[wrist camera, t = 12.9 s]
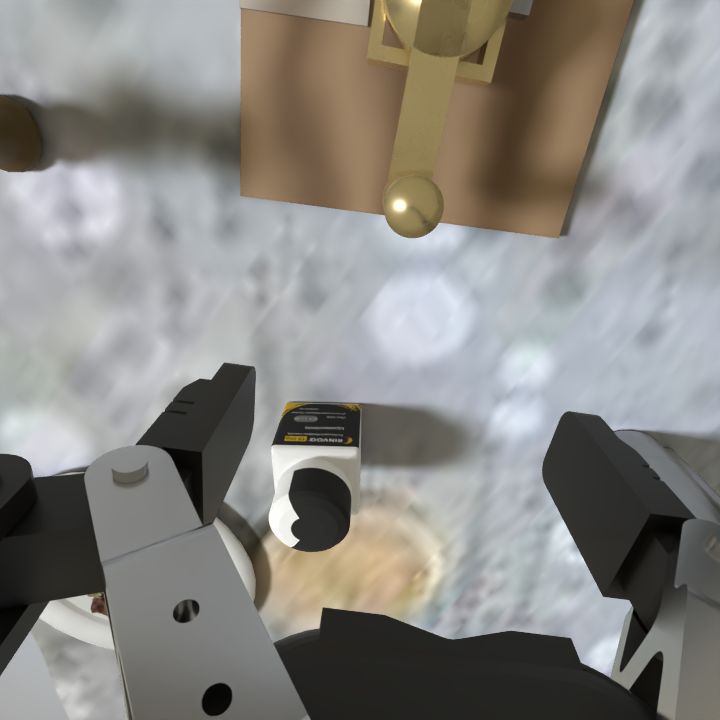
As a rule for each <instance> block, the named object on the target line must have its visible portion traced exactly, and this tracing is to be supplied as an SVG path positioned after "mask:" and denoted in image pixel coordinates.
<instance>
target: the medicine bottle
mask: <svg viewBox="0 0 720 720" xmlns="http://www.w3.org/2000/svg"><path fill="white" fill-rule="evenodd" d="M361 412H362V408H361V405H359V404H334V403H291V402H289V403H287V404H286V406H285V409H284V412H283V415H282V418H281V420H280V423H279V426H278V429H277V432H276V435H275V438H274V441H273V444H272V446H271V454H272V464H273V474H274V484H275V496H274V499H273V503H272V506H271V510H270V513H269V523H270V527H271V529H272V531H273V532H274V534H275V535H276V536H277V538H278V539H279V540H280V541H282V542H283V543H284V544H286V545H287V546H289V547H291V548H294V549H296V550H300V551H306V552H318V551H323V550H327V549H330V548H332V547H334V546H335V545H337V544H338V543H340V542H341V541H342V540H343V539H344V538H345V536H346V535H347V533H348V531H349V527H350V515H356V514H358V511H359V495H360V470H361Z"/></svg>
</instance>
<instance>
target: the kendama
mask: <svg viewBox="0 0 720 720" xmlns="http://www.w3.org/2000/svg"><path fill="white" fill-rule="evenodd" d="M40 156H41V138H40V134H39V131H38V128H37V124H36V123H35V121H34V120H33V118H32V117H31V115H30V114H29V112H28V110H27V109H25V108H24V107H23V106H21V105H20V104H19V103H17V102H16V101H15V100H14V99H11V98H8V97H5V96H2V95H0V169H2V170H5V171H8V172H25V171H27V170H29V169H31V168H33V167H35V166H36V165H37V163H38V161H39V159H40Z"/></svg>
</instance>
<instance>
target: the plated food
mask: <svg viewBox="0 0 720 720" xmlns="http://www.w3.org/2000/svg"><path fill="white" fill-rule="evenodd" d="M80 473H86V472H70V473H65V474H60V475H71V474H80ZM55 476H59V475H55ZM213 524H214V526H215V527H216V528H217V530H218V532H219V534H220V536H221V538H222V540H223V542H224V544H225V546H226V548H227V550H228V552H229V554H230V556H231V558H232V560H233V562H234V564H235V566H236V568H237V570H238V572H239V574H240V576H241V579H242V581H243V583H244V585H245V587H246V589H247V591H248V593H249V595H250V597H251V599H252V601H253V602H254V599H255V589H256V579H255V574H254V570H253V566H252V562H251V560H250V558H249V556H248V554H247V553H246V551H245V549H244V547H243V545H242V544H241V542H240V541H239V540H238V539H237V537H236V536H235V535H234V534H233V533H232V531H231V530H230V529H229V528H228V527H227V526H226V525H225V524H224V523H223V522H222V521H220V520H219V519H218V518H217V517H216V518H215V521H214V523H213ZM39 618H40V619H42V620H43V621H45V622H46V623H48V624H50V625H51V626H53V627H54V628H56V629H58V630H60V631H62V632H64V633H66V634H68V635H70V636H73V637H75V638H77V639H79V640H82V641H85V642H88V643H91V644H94V645H97V646H99V647H103V648H107V649H112V650H115V649H114V644H113V639H112V634H111V629H110V624H109V618H108V613H107V608H106V603H105V598H104V593H103V592H100V593H94V594H88V595H83V596H77V597H71V598H65V599H59V600H53V601H49V603H48V605H47V606H46V608H45V609H44V611H43V612H42V614H41V615H40V617H39Z"/></svg>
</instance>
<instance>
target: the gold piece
mask: <svg viewBox="0 0 720 720" xmlns="http://www.w3.org/2000/svg"><path fill="white" fill-rule="evenodd" d="M532 3H533V0H375V5H374V12H373V18H372V25H371V32H370V39H369V46H368V53H367V64H368V65H373V66H378V67H383V68H388V69H393V70H398V71H403V72H408V73H407V78H406V84H405V89H404V94H403V100H402V105H401V111H400V116H399V122H398V127H397V133H396V138H395V144H394V149H393V154H392V160H391V165H390V171H389V176H388V182H387V183H386V185H385V187H384V190H383V194H382V202H383V208H384V213H385V217H386V220H387V223H388V224H389V226H390V227H391V229H392V230H393V231H395V232H396V233H397V234H399V235H401V236H403V237H407V238H418V237H422V236H425V235H427V234H428V233H430V232H431V231H432V230H433V229H434V228H435V227H436V226H437V225H438V223H439V222H440V220H441V218H442V215H443V210H444V200H443V196H442V193H441V191H440V189H439V187H438V186H437V185H436V184H435V183H434V182H433V181H432V177H433V172H434V168H435V163H436V159H437V155H438V150H439V146H440V141H441V137H442V132H443V128H444V123H445V119H446V114H447V110H448V105H449V101H450V97H451V92H452V88H453V83H454V82H458V83H463V84H468V85H473V86H478V87H484V86H486V85H488V84H489V83H491V81H492V77H493V73H494V69H495V65H496V61H497V57H498V53H499V49H500V46H501V42H502V38H503V34H504V30H505V26H506V22H507V18H511V19H516V20H521V21H523V20H524V19H526V18H527V17H528V16H529V14H530V10H531V6H532ZM386 19H387V21H388V23H389V26H390V29H391V31H392V33H393V35H394V36H395V38H396V40H397V41H398V43H399V44H400V45H401V46H402V47H403V49H399V48H394V47H389V46H384V45H382V44H383V38H384V31H385V25H386ZM479 48H480V51H479V55H478V60H477V64H474V63H469V62H464V61H461V60H463V59H465V58H467V57H468V56H470V55H471V54H473V53H474V52H476V51H477V50H478V49H479ZM404 49H405V50H404Z"/></svg>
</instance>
